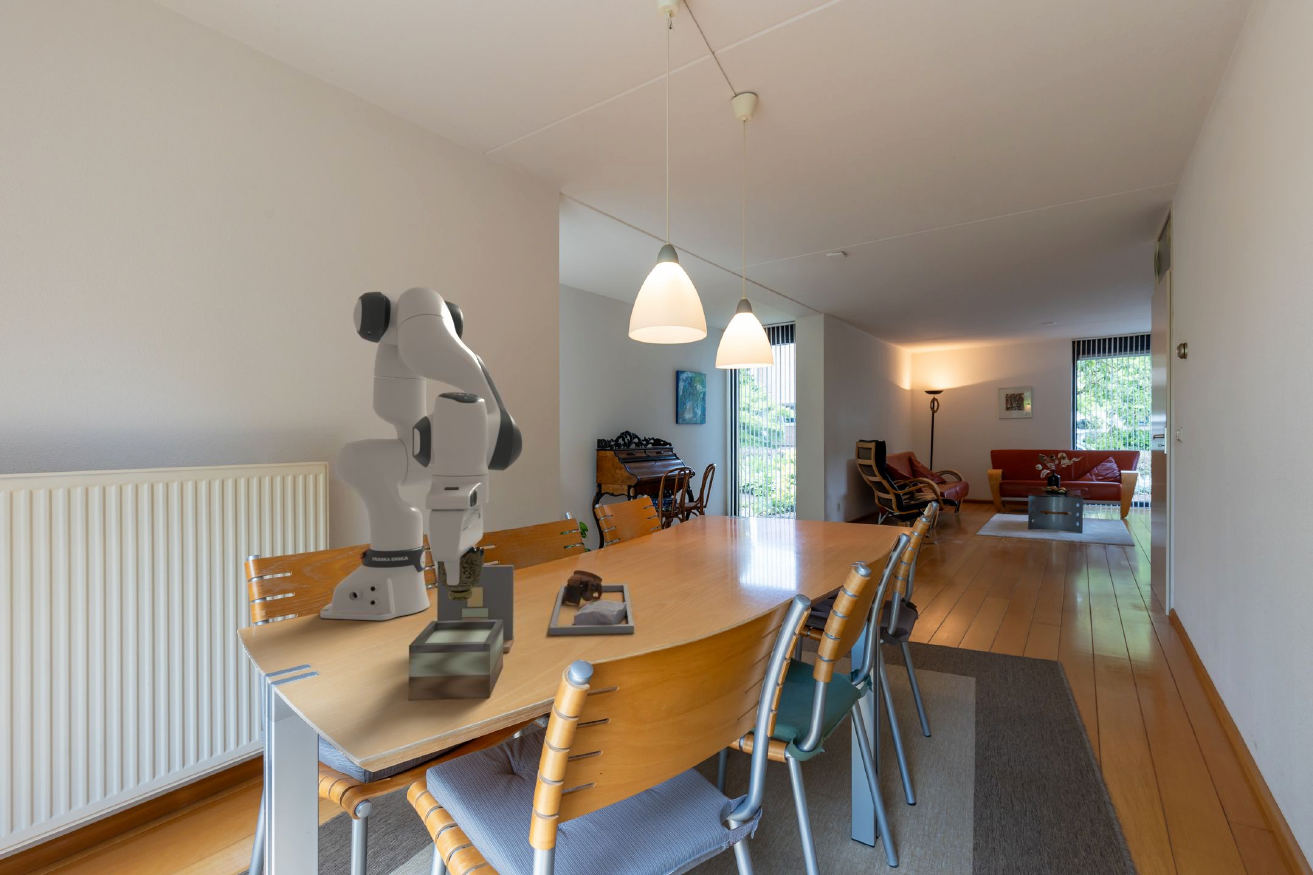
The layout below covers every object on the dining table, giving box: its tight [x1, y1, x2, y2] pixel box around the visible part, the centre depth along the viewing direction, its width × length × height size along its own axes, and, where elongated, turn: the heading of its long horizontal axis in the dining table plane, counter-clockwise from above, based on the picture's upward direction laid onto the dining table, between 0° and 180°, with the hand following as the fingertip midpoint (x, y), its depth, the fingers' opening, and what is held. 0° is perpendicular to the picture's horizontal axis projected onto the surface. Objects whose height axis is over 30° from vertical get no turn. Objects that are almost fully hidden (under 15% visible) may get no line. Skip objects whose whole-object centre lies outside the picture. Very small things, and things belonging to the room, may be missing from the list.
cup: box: [436, 546, 485, 601], centre depth 96 cm, size 8×7×8 cm
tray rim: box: [548, 583, 635, 636], centre depth 137 cm, size 17×34×2 cm, turn 5°
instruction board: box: [436, 564, 515, 653], centre depth 112 cm, size 14×6×15 cm, turn 95°
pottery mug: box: [562, 569, 603, 606], centre depth 145 cm, size 12×10×8 cm
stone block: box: [573, 599, 627, 626], centre depth 128 cm, size 12×5×10 cm
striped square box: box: [408, 620, 504, 701], centre depth 96 cm, size 12×12×8 cm
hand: (459, 577), depth 96 cm, fingers closed on cup, 7 cm apart
